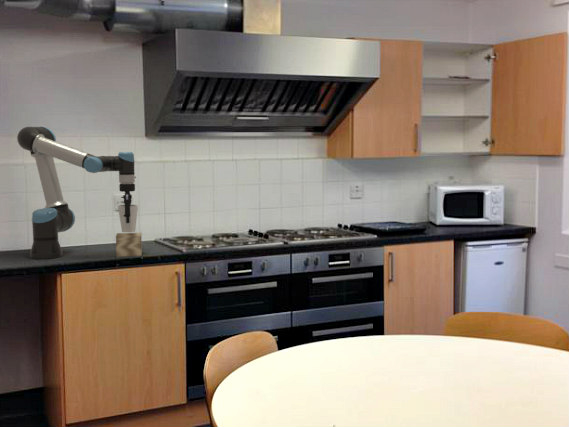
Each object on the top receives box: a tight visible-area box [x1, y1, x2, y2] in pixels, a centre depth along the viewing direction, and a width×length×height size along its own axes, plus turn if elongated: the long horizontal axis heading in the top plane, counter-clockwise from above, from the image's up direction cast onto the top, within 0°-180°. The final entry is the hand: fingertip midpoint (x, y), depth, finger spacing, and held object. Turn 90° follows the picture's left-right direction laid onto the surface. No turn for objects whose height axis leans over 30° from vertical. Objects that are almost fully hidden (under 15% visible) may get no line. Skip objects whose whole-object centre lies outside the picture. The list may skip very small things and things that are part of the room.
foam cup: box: [117, 204, 139, 233], centre depth 362 cm, size 10×9×13 cm
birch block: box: [115, 232, 143, 258], centre depth 363 cm, size 12×12×10 cm
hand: (128, 228), depth 362 cm, fingers closed on foam cup, 9 cm apart
